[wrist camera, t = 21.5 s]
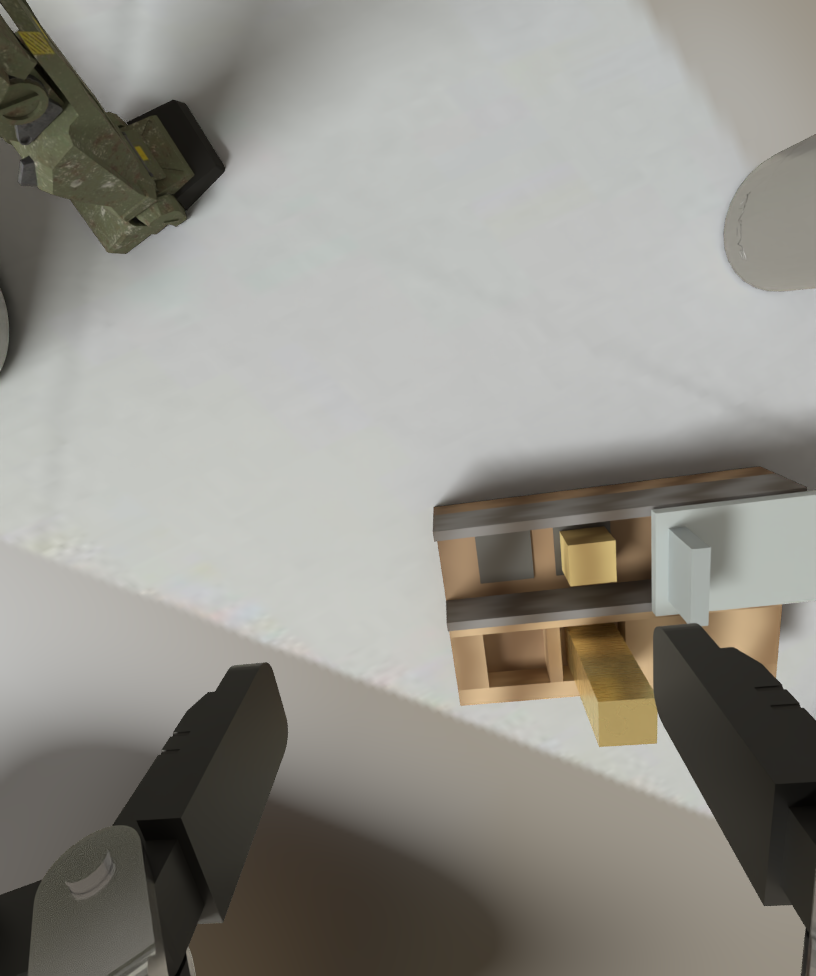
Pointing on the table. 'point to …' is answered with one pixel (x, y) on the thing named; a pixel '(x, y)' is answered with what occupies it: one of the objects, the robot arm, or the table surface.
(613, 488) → the board
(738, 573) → the lid
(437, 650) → the table surface
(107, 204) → the mechanical leg
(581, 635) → the pin
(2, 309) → the planter
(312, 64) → the table surface
